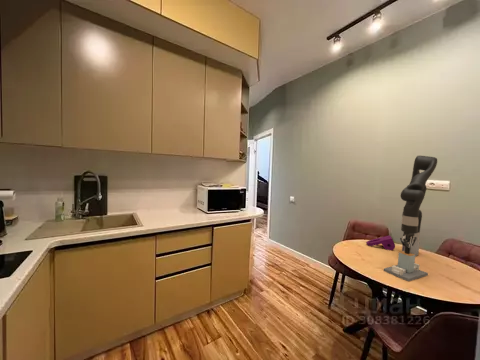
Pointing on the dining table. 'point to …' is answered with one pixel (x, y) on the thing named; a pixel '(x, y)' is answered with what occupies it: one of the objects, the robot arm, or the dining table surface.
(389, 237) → the mounting bracket
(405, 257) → the plate
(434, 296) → the dining table surface
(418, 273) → the mounting board
